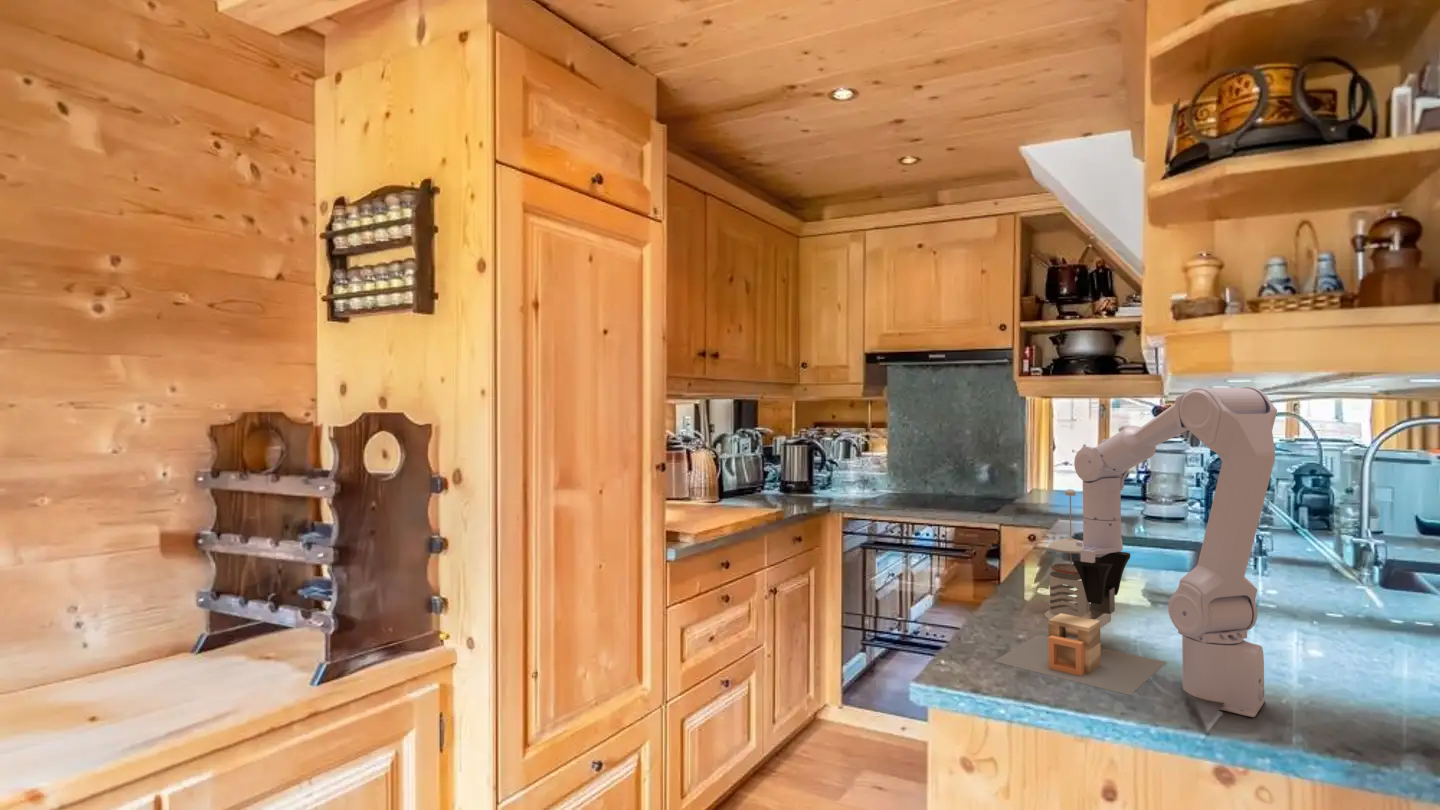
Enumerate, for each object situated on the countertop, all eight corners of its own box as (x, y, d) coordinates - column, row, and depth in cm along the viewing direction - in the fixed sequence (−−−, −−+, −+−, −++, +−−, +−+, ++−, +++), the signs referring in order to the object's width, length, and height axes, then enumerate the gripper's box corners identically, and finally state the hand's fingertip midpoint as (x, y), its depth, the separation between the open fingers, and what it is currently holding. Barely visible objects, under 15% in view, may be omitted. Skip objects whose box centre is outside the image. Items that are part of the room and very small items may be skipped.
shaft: (1114, 621, 126) (1114, 587, 125) (1082, 643, 115) (1081, 605, 115) (1095, 617, 128) (1095, 584, 128) (1062, 638, 117) (1061, 602, 117)
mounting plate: (1166, 668, 117) (1166, 661, 117) (1130, 702, 105) (1130, 695, 105) (1038, 640, 131) (1038, 634, 131) (993, 667, 119) (992, 661, 119)
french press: (1062, 607, 152) (1061, 485, 152) (1119, 621, 142) (1118, 490, 142) (1033, 615, 146) (1032, 488, 146) (1090, 630, 137) (1089, 494, 136)
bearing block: (1100, 665, 116) (1100, 620, 116) (1089, 674, 113) (1088, 627, 113) (1061, 656, 120) (1060, 613, 120) (1048, 664, 117) (1048, 620, 117)
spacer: (1084, 673, 113) (1084, 641, 113) (1081, 675, 112) (1080, 644, 112) (1052, 665, 116) (1051, 635, 116) (1048, 668, 115) (1048, 637, 115)
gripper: (1091, 510, 134) (1092, 586, 134) (1060, 520, 123) (1061, 602, 123) (1135, 514, 129) (1135, 593, 129) (1106, 525, 118) (1107, 610, 118)
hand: (1102, 598), depth 126 cm, fingers open, 7 cm apart
